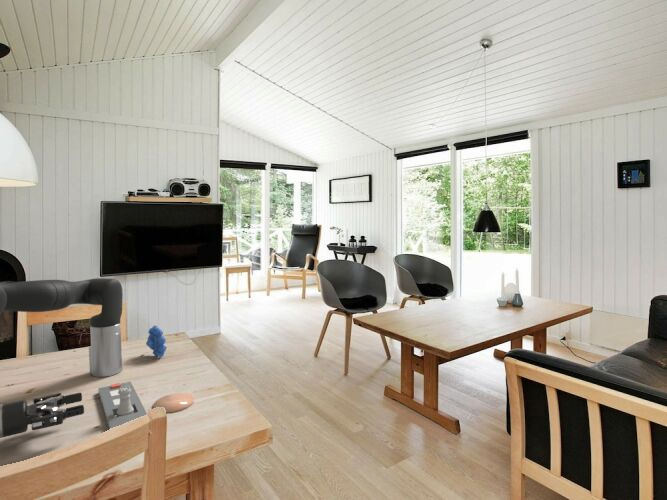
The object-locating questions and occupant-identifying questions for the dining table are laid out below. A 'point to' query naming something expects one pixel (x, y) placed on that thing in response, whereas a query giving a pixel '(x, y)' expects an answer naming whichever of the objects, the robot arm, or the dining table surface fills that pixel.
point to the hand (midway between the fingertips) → (82, 402)
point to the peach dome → (175, 402)
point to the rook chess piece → (124, 402)
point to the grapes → (156, 341)
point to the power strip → (112, 403)
